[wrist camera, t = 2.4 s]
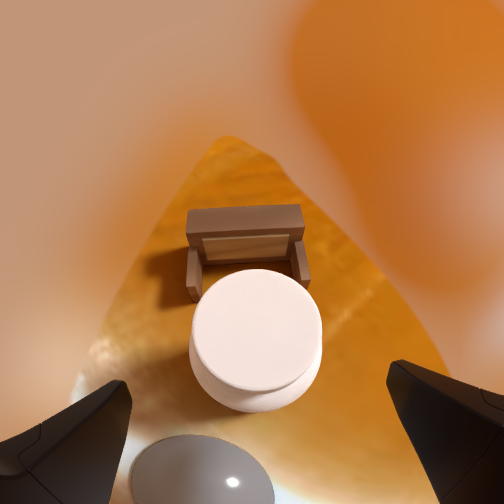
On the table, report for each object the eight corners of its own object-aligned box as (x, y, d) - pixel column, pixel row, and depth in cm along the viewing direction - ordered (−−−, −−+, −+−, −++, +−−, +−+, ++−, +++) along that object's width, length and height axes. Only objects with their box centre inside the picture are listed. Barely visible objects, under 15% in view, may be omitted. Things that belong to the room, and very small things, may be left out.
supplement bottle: (196, 387, 15) (135, 356, 7) (235, 318, 18) (221, 226, 10) (274, 424, 14) (303, 442, 6) (309, 350, 17) (364, 283, 9)
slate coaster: (216, 562, 8) (216, 565, 7) (110, 486, 11) (107, 487, 10) (303, 484, 12) (304, 486, 11) (187, 407, 15) (185, 407, 14)
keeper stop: (304, 295, 19) (315, 267, 16) (193, 302, 19) (180, 275, 15) (294, 238, 22) (301, 204, 18) (196, 243, 21) (186, 210, 18)
